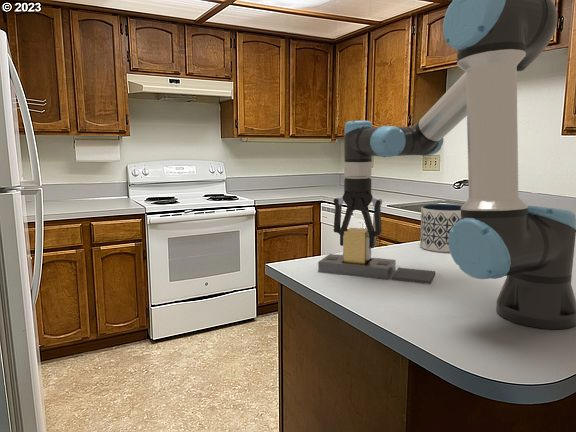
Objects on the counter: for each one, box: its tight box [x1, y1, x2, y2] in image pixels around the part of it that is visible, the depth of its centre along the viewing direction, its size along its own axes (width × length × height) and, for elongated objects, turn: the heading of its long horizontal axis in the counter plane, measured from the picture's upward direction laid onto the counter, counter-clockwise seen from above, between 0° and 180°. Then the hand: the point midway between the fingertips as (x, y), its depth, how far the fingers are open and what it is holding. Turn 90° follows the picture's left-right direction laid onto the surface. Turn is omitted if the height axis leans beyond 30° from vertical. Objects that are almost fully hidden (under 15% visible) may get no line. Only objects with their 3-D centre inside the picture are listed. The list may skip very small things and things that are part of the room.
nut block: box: [344, 227, 370, 265], centre depth 129 cm, size 6×6×12 cm
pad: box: [391, 267, 436, 285], centre depth 123 cm, size 10×10×1 cm
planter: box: [419, 203, 463, 254], centre depth 155 cm, size 16×16×14 cm
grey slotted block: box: [317, 253, 397, 280], centre depth 129 cm, size 20×10×3 cm, turn 65°
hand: (357, 257), depth 129 cm, fingers closed on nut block, 6 cm apart
